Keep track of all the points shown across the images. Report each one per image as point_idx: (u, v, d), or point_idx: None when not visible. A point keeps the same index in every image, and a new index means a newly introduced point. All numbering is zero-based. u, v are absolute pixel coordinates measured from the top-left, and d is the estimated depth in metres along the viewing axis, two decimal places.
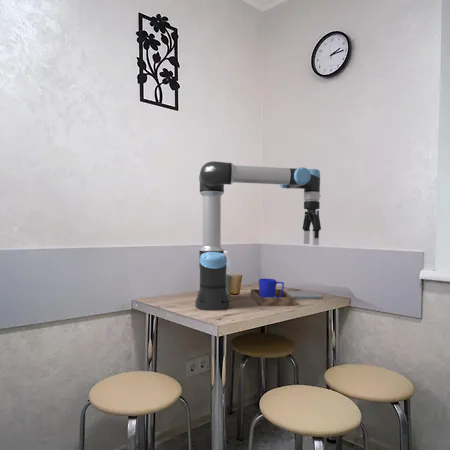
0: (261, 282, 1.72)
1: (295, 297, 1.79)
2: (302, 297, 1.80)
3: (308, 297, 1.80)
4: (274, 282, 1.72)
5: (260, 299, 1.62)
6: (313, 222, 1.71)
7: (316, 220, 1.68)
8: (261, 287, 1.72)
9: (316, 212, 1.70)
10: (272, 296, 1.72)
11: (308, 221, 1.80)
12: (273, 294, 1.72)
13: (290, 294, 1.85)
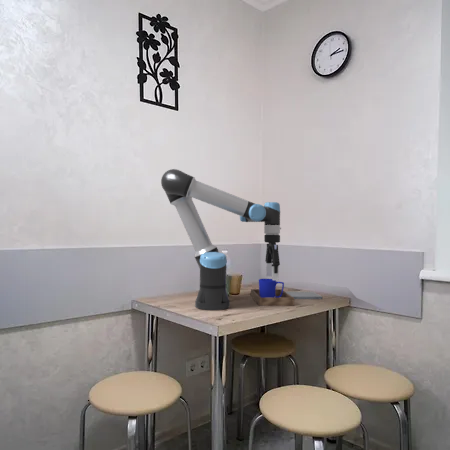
0: (261, 282, 1.72)
1: (295, 297, 1.79)
2: (302, 297, 1.80)
3: (308, 297, 1.80)
4: (274, 282, 1.72)
5: (260, 299, 1.62)
6: (273, 257, 1.69)
7: (275, 255, 1.66)
8: (261, 287, 1.72)
9: (275, 246, 1.67)
10: (272, 296, 1.72)
11: (270, 254, 1.78)
12: (273, 294, 1.72)
13: (290, 294, 1.85)
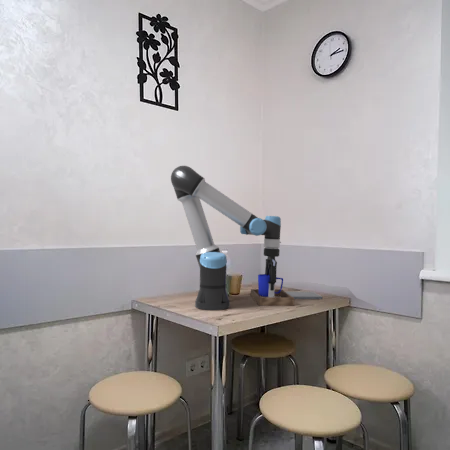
0: (260, 277, 1.71)
1: (295, 297, 1.79)
2: (302, 297, 1.80)
3: (308, 297, 1.80)
4: None
5: (260, 299, 1.62)
6: (270, 273, 1.70)
7: (272, 272, 1.67)
8: (260, 282, 1.71)
9: (274, 263, 1.67)
10: None
11: (269, 269, 1.76)
12: None
13: (290, 294, 1.85)
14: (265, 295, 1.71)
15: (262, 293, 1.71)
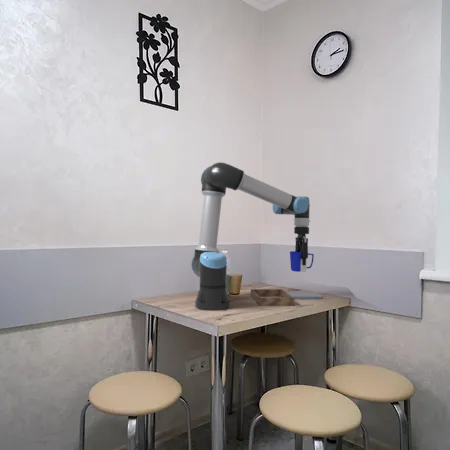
0: (293, 254, 1.84)
1: (295, 297, 1.79)
2: (302, 297, 1.80)
3: (308, 297, 1.80)
4: None
5: (260, 299, 1.62)
6: None
7: (304, 248, 1.80)
8: (293, 258, 1.84)
9: (305, 240, 1.80)
10: None
11: (299, 246, 1.89)
12: None
13: (290, 294, 1.85)
14: (297, 270, 1.83)
15: (295, 268, 1.84)
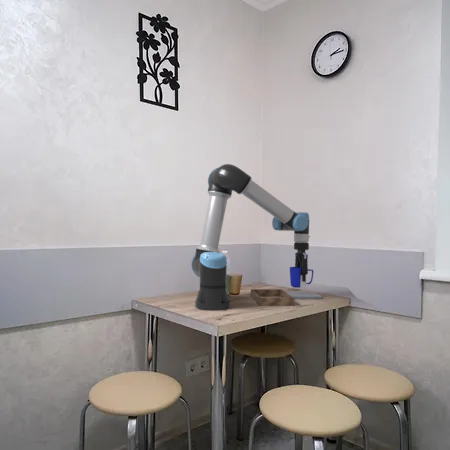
0: (292, 270, 1.84)
1: (295, 297, 1.79)
2: (302, 297, 1.80)
3: (308, 297, 1.80)
4: None
5: (260, 299, 1.62)
6: (301, 265, 1.83)
7: (304, 265, 1.80)
8: (292, 274, 1.84)
9: (305, 256, 1.80)
10: None
11: (299, 261, 1.89)
12: None
13: (290, 294, 1.85)
14: (297, 286, 1.83)
15: (294, 284, 1.84)
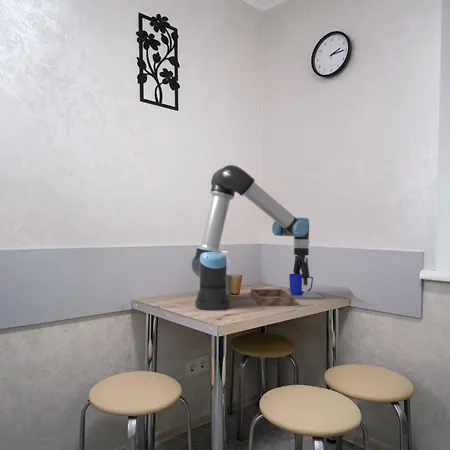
0: (292, 277, 1.84)
1: (295, 297, 1.79)
2: (302, 297, 1.80)
3: (308, 297, 1.80)
4: None
5: (260, 299, 1.62)
6: (302, 269, 1.81)
7: (305, 268, 1.78)
8: (292, 281, 1.84)
9: (305, 259, 1.80)
10: None
11: (298, 266, 1.90)
12: None
13: (290, 294, 1.85)
14: (297, 293, 1.83)
15: (294, 291, 1.84)
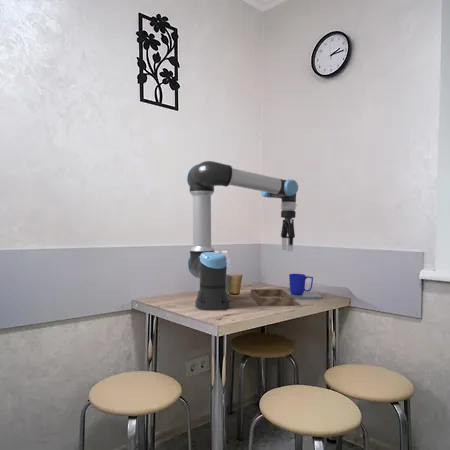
0: (292, 277, 1.84)
1: (295, 297, 1.79)
2: (302, 297, 1.80)
3: (308, 297, 1.80)
4: (304, 277, 1.84)
5: (260, 299, 1.62)
6: (288, 230, 1.84)
7: (290, 228, 1.82)
8: (292, 281, 1.84)
9: (291, 220, 1.83)
10: (302, 290, 1.84)
11: (285, 229, 1.93)
12: (303, 288, 1.84)
13: (290, 294, 1.85)
14: (297, 293, 1.83)
15: (294, 291, 1.84)
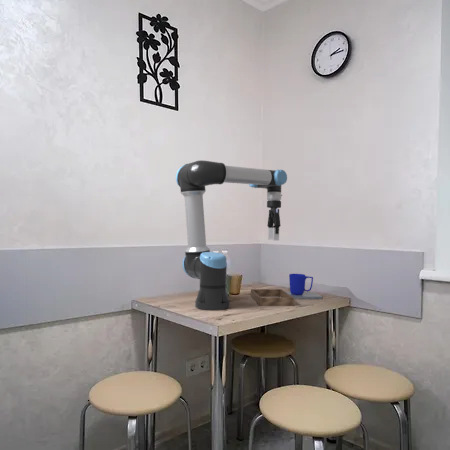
0: (292, 277, 1.84)
1: (295, 297, 1.79)
2: (302, 297, 1.80)
3: (308, 297, 1.80)
4: (304, 277, 1.84)
5: (260, 299, 1.62)
6: (274, 219, 1.88)
7: (276, 217, 1.85)
8: (292, 281, 1.84)
9: (276, 210, 1.87)
10: (302, 290, 1.84)
11: (271, 218, 1.97)
12: (303, 288, 1.84)
13: (290, 294, 1.85)
14: (297, 293, 1.83)
15: (294, 291, 1.84)
